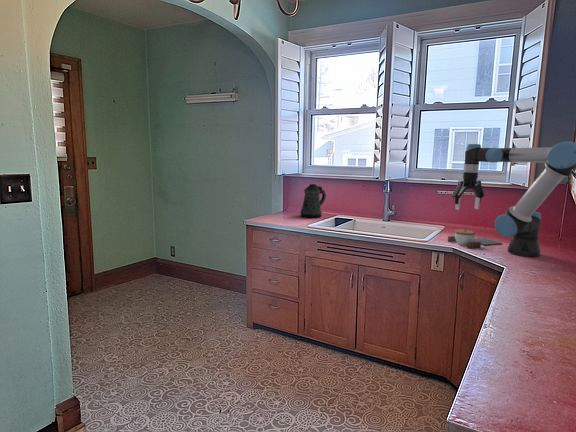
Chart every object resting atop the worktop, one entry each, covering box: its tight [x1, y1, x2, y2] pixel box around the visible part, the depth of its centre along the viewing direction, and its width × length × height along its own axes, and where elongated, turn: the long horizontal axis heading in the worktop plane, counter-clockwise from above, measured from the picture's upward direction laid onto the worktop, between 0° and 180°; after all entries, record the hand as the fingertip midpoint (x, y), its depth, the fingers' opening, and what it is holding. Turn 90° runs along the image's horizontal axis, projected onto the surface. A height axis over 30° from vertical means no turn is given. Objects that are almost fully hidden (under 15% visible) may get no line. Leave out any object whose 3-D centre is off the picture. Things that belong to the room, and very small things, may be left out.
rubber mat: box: [473, 237, 503, 247], centre depth 235 cm, size 13×13×1 cm
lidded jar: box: [454, 228, 476, 247], centre depth 229 cm, size 11×11×9 cm
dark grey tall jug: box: [300, 183, 327, 219], centre depth 308 cm, size 16×19×25 cm
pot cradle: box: [447, 235, 482, 250], centre depth 229 cm, size 17×8×3 cm, turn 18°
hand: (467, 209), depth 226 cm, fingers open, 13 cm apart
